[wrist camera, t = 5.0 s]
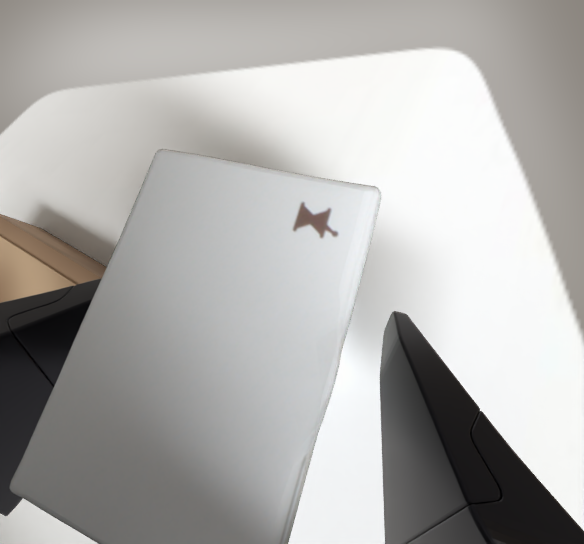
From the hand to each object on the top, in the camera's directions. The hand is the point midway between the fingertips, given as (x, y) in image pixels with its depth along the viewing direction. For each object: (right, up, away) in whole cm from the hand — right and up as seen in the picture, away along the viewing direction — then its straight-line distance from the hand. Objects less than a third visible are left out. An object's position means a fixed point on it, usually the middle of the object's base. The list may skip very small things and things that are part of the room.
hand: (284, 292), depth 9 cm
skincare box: (+1, -3, +6) cm, 7 cm away
